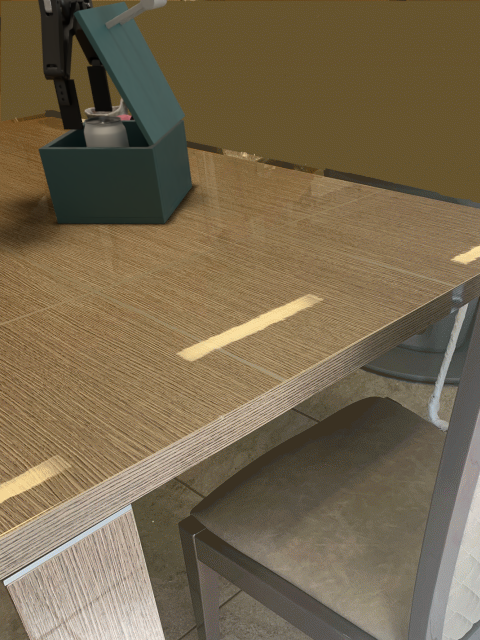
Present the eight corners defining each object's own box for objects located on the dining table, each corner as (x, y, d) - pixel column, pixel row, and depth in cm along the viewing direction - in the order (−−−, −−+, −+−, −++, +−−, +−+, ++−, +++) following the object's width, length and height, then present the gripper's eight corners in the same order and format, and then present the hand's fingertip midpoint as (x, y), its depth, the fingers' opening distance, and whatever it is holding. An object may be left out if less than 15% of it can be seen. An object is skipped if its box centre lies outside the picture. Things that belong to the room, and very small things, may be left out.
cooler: (57, 223, 100) (38, 148, 94) (100, 186, 116) (85, 120, 110) (164, 223, 99) (152, 148, 93) (192, 186, 115) (183, 119, 109)
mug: (94, 139, 146) (84, 90, 140) (150, 136, 148) (142, 88, 142) (88, 149, 139) (77, 98, 133) (147, 146, 140) (139, 95, 134)
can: (98, 193, 109) (81, 116, 102) (137, 190, 110) (123, 114, 103) (98, 205, 104) (80, 125, 97) (138, 201, 105) (124, 122, 98)
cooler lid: (73, 13, 83) (128, -21, 81) (120, 3, 99) (167, -26, 97) (149, 146, 93) (201, 119, 90) (181, 117, 109) (226, 94, 106)
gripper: (64, -49, 98) (93, 104, 110) (-14, -51, 78) (33, 137, 90) (112, -49, 97) (136, 105, 110) (47, -51, 77) (85, 138, 90)
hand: (89, 120), depth 100 cm, fingers open, 13 cm apart
